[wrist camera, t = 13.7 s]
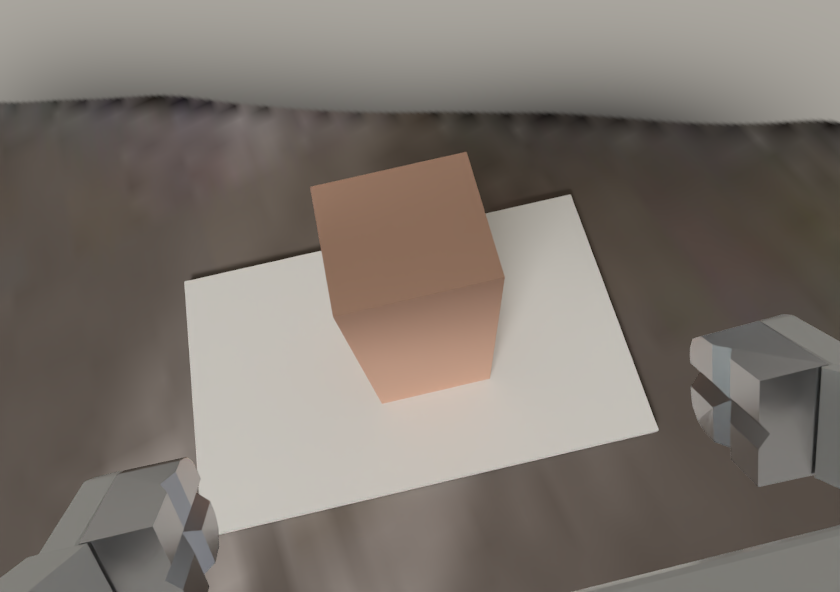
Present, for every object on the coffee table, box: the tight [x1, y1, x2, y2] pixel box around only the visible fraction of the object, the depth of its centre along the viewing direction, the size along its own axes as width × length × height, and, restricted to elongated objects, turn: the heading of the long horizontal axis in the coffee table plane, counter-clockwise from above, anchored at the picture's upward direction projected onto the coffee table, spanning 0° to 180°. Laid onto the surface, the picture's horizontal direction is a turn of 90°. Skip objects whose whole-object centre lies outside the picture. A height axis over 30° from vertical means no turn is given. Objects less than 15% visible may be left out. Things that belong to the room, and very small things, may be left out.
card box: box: [310, 152, 505, 404], centre depth 21 cm, size 4×4×10 cm
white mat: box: [184, 194, 659, 535], centre depth 26 cm, size 18×11×1 cm, turn 102°
